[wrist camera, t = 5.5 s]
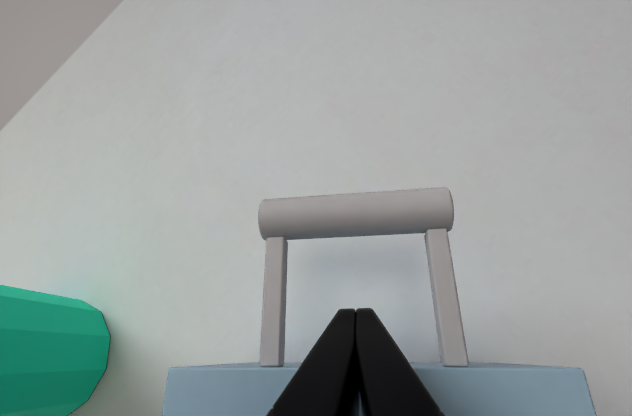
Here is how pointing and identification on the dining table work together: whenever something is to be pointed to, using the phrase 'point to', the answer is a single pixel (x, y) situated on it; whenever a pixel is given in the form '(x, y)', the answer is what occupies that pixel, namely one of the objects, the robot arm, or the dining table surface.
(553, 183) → the dining table surface
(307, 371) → the robot arm
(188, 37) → the dining table surface
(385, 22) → the dining table surface
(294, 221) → the drawer
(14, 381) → the candle
